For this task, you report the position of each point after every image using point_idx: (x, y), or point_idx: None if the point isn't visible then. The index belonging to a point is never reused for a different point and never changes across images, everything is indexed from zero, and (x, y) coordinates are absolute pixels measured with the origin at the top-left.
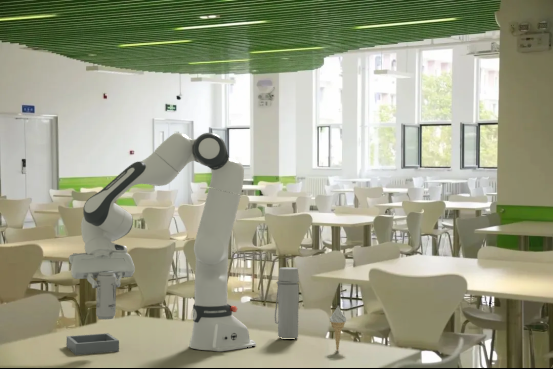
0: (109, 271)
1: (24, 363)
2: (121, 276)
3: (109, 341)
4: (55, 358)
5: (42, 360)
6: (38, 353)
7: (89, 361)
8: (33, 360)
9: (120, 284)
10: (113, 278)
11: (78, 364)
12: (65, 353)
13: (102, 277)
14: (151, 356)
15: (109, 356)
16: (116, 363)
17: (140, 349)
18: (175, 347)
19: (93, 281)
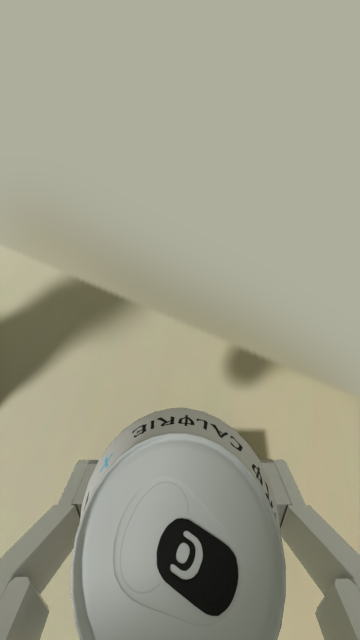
0: (137, 565)
1: (355, 405)
2: (8, 552)
3: None
4: (292, 430)
5: (319, 420)
6: (335, 518)
7: (226, 368)
8: (339, 429)
9: (81, 460)
10: (138, 419)
11: (249, 351)
12: None
13: (236, 433)
14: (102, 362)
15: (178, 399)
16: (183, 331)
17: (90, 449)
18: (9, 435)
19: (296, 492)
